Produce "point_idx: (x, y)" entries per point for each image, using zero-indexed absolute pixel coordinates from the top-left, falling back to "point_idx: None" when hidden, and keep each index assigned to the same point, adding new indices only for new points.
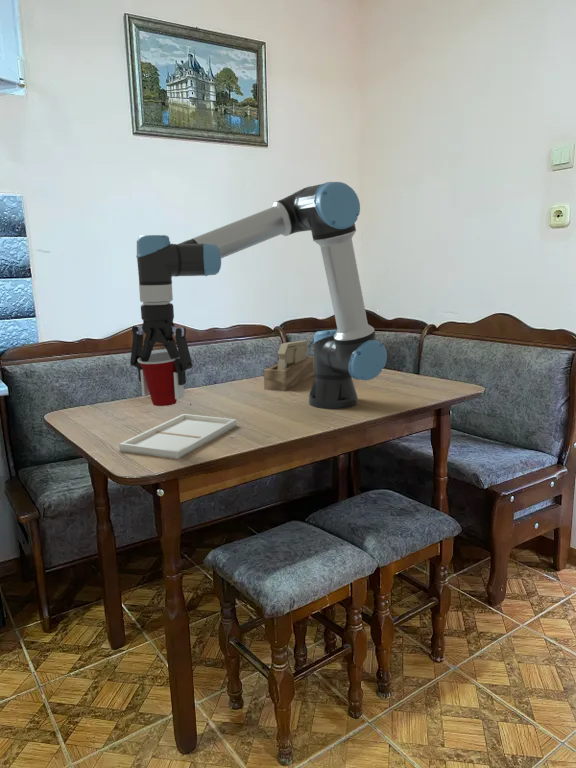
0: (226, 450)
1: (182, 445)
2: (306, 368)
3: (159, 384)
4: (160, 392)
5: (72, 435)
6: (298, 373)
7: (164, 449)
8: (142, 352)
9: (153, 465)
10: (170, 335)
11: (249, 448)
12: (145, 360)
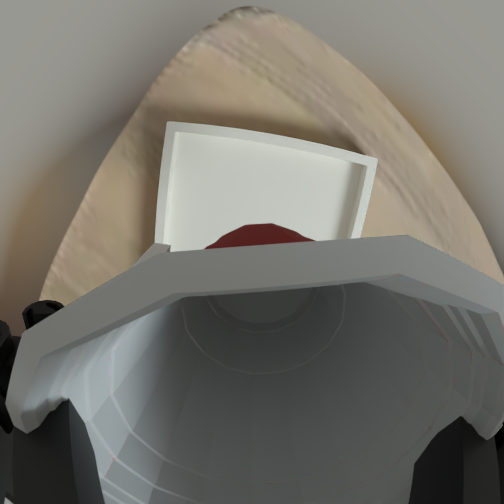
0: (99, 228)
1: (203, 212)
2: None
3: (236, 239)
4: (241, 231)
5: (491, 260)
6: None
7: (218, 131)
8: (490, 486)
9: (228, 80)
10: None
11: (65, 251)
12: (439, 447)
